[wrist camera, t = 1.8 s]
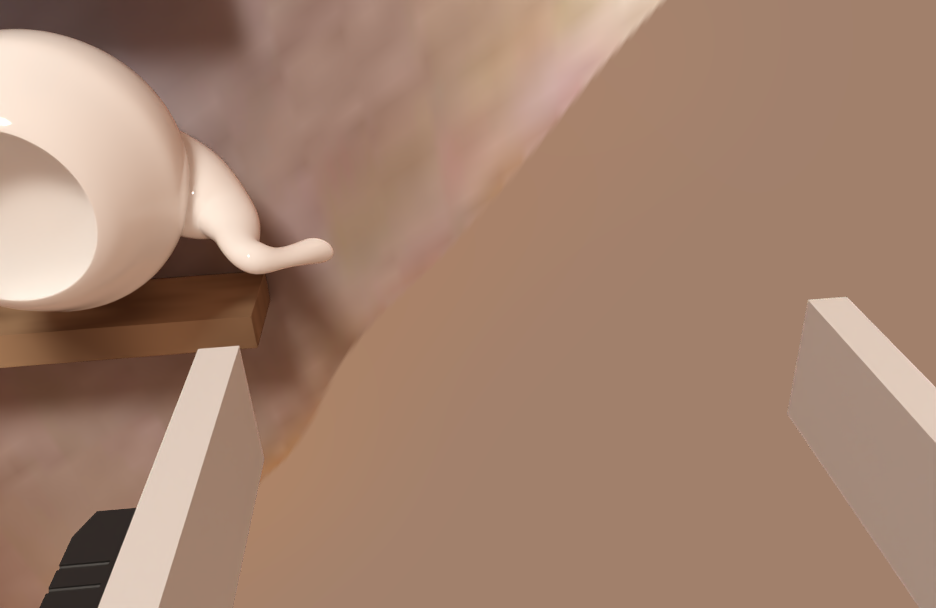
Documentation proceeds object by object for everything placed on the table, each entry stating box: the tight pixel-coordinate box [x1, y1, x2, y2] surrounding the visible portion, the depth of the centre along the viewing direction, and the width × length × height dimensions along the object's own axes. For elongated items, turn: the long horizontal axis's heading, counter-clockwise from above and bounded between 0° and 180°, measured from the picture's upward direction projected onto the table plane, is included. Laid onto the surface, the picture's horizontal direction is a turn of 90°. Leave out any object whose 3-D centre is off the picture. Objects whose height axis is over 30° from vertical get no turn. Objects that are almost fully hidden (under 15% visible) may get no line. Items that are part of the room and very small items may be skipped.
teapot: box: [0, 29, 333, 312], centre depth 29 cm, size 10×20×9 cm, turn 72°
